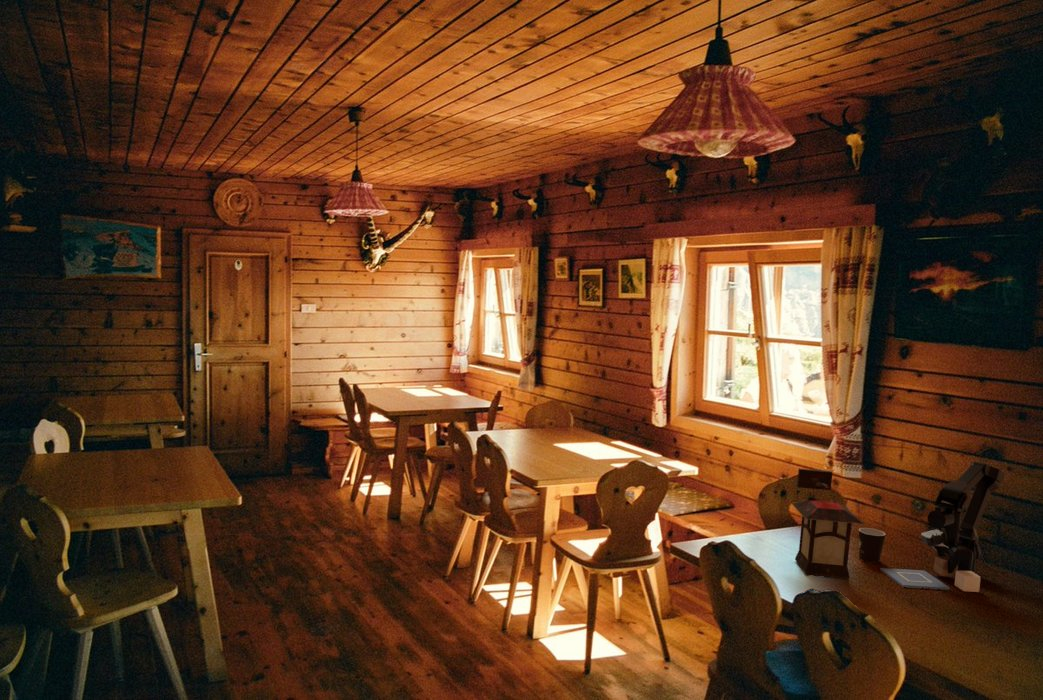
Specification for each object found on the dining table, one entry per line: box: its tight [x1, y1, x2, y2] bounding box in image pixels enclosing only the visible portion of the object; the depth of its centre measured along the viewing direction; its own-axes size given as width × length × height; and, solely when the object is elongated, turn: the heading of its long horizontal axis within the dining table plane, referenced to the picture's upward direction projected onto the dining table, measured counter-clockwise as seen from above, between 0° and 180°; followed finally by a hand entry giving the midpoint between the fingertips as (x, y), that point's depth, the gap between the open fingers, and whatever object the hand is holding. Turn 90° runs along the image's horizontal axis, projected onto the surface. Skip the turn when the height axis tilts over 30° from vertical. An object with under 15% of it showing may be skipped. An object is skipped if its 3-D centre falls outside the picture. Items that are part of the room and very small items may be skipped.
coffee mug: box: [858, 527, 886, 564], centre depth 274 cm, size 12×9×10 cm
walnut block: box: [933, 555, 958, 577], centre depth 259 cm, size 5×5×5 cm
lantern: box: [791, 468, 865, 580], centre depth 261 cm, size 18×26×30 cm
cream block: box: [954, 570, 981, 593], centre depth 251 cm, size 5×5×5 cm
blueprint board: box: [879, 567, 951, 591], centre depth 255 cm, size 15×15×1 cm
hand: (945, 570), depth 259 cm, fingers closed on walnut block, 5 cm apart
